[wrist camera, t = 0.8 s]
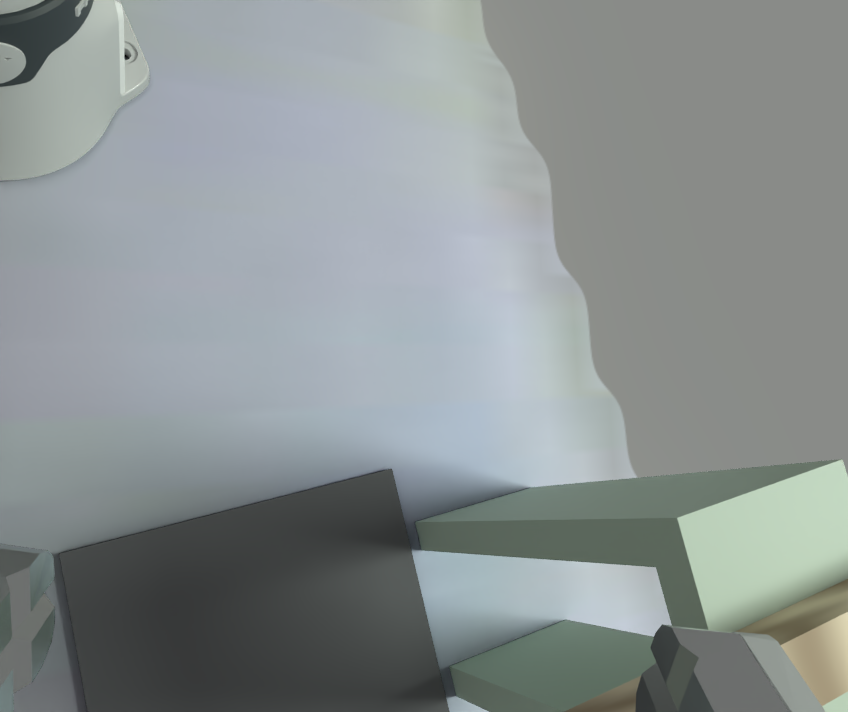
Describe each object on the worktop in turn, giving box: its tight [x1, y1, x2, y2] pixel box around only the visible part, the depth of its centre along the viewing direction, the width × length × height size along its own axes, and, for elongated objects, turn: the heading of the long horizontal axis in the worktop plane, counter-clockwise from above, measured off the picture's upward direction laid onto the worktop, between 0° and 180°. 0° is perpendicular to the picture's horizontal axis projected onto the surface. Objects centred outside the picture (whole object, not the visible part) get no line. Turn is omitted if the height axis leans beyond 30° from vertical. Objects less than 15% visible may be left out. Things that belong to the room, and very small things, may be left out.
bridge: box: [415, 459, 848, 712], centre depth 41 cm, size 12×10×26 cm
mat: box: [59, 469, 449, 712], centre depth 45 cm, size 20×21×1 cm
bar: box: [564, 579, 848, 712], centre depth 27 cm, size 19×2×2 cm, turn 105°
